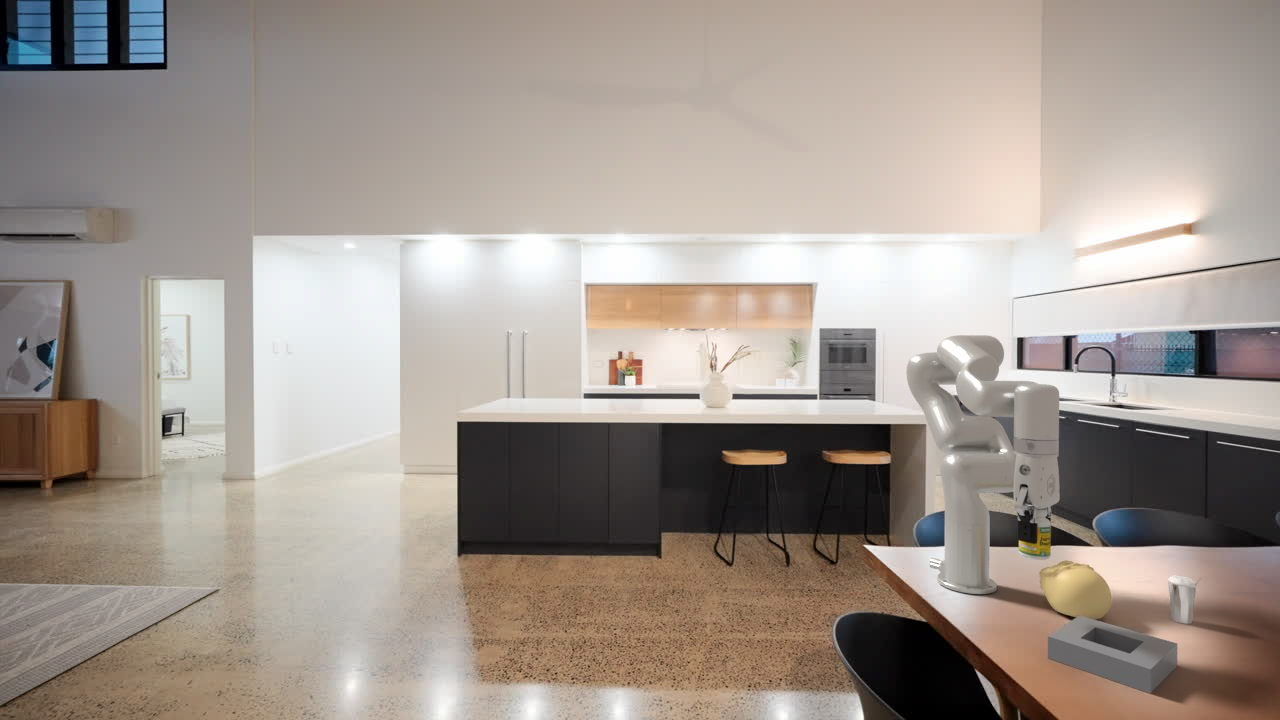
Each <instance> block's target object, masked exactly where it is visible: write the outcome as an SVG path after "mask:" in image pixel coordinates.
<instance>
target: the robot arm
mask: <svg viewBox="0 0 1280 720" xmlns="http://www.w3.org/2000/svg"><path fill="white" fill-rule="evenodd" d="M1004 357H1005V349H1004V347H1003V344H1002V343H1001V342H1000V340H999V339H998V338H996V337H995V336H992V335H986V334H984V335H983V334H982V335H978V334H977V335H974V334H970V335H966V334H965V335H964V334H963V335H961V334H960V335H951V336H949V337H946V338H943V340H941V341H940V343H939V344H938V346H937V349H936V352H923V353H919V354H916V355H914V356H913V357H911V358H910V359H908V362H907V364H906V365H907V366H906V381H907V385H908V388H909V390H910V392H911V394H912V396H913V398H914V400H916V403H917V404H918V405H919V407H920V409H921V410H922V411H923V414H924V416H925V419H926V422H927V425H928V427H929V430H930V432H931V435H932V438H933V439H934V442H935V444H936V446H937V448H938V450H940V452H942V453H944V454H948V455H945V457H943V459H942V461H941V462H940V466H939V469H940V471H939V472H940V477H941V483H942V488H943V497H944V559H943V560H941V559H939V558H935V557H931V558H930V559H929V568H930V569H934V570H938V571H939V574H937V576H936V578H937V583H939V584H940V585H941V586H942V587H945V589H946V588H947V589H949V590H951V591H956V592H959V593H965V594H970V595H988V594H992V593H995V592H996V591H997V588H998V587H997V584H998V583H997V582H996V581H994V580H993V579H991V578H990V553H991V552H990V546H991V545H990V542H991V540H990V538H991V537H990V530H991V529H990V525H991V523H990V521H991V519H990V518H991V517H990V511H989V509H988V506H987V505H986V503H984V501H983V500H982V499H981V497H980V495H979V494H985V493H986V494H987V493H988V494H997V493H998V494H1002V493H1003V494H1006V493H1007V494H1008V493H1013V502H1014V503H1015V504H1014V509H1015V510H1016V515H1017V521H1018V522H1017V523H1018V524H1017V529H1018V530H1017V539H1018V541H1019V540H1020V541H1023V542H1028V543H1032V544H1036V543H1037V523H1035V520H1036V514H1037V508H1038V509H1044V508H1046V509H1047V516H1046V517H1045V518H1047V519H1048V520H1049V521H1050V522H1051V521H1052V518H1051V517H1052V507H1053V506H1054V505H1056V504H1058V503H1059V502H1060V499H1061V498H1060V497H1061V496H1060V492H1061V491H1060V471H1059V462H1058V457H1059V454H1060V453H1059V449H1060V448H1059V447H1060V446H1059V445H1060V444H1059V442H1060V440H1059V438H1060V391H1059V389H1058V387H1057V386H1055V385H1052V384H1045V383H1044V384H1043V383H1038V382H1034V381H1030V380H996V379H997V377H998V376H999V371H1000V367H1001V365H1002V364H1003V362H1004ZM942 385H947V386H949V385H950V386H951V385H954V386H955V392H956V395H957V398H958V400H959V401H960V403H962V405H964V407H966V408H967V410H969V411H970V412H971V413H973V414H974V415H967V414H964V411H962V408H961V407H960V404H959V402H958V400H957V399H956V397H954V396H953V395H952V394H951V393H950V392H949V391H947V390H945V389H944V388H943V387H941V386H942ZM995 418H1013V445H1012V443H1011V441H1010V438H1009V437H1008V435H1007V433H1006V431H1005V430H1006V429H1004V427H1003V425H1002V424H1001V422H999V421H998V420H997V419H995ZM1027 504H1028V505H1027ZM1030 504H1031V505H1033V506H1029V505H1030ZM1026 509H1030V510H1031V515H1030V513H1029V511H1028V510H1026Z"/></svg>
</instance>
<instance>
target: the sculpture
mask: <svg viewBox="0 0 1280 720" xmlns="http://www.w3.org/2000/svg"><path fill="white" fill-rule="evenodd" d="M1038 574H1039V578H1040V579H1039V584H1040V585H1039V587H1040V588H1041V590H1042V591H1043V593H1044V595H1045V598H1046V599H1047V602H1048V603H1049V605H1050V606H1051V607H1052V609H1053V610H1054V611H1056V612H1057V613H1060V614H1063V615H1066V616H1070V617H1074V618H1076V617H1078V616H1084V617H1087V618H1091V619H1094V620H1099V619H1102V618H1103V617H1104V616H1106V615H1107V614H1108V612H1109V610H1110V609H1111V605H1112V599H1113V598H1112V592H1111V588H1110V586H1109V584H1108V582H1107V580H1105V578H1104V577H1103V576H1102V575H1101V574H1100V573H1098V572H1097V571H1096V570H1095V569H1094V567H1092V566H1090V565H1089V564H1084V563H1078V562H1073V561H1070V560H1063V561H1060V562H1059V563H1057V564H1054V565H1052V566H1047V567H1042V569H1041V570H1040V571H1039V573H1038Z"/></svg>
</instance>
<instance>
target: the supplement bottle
mask: <svg viewBox="0 0 1280 720" xmlns="http://www.w3.org/2000/svg"><path fill="white" fill-rule="evenodd" d="M1028 505H1029V506H1033V505H1032V504H1028ZM1026 510H1028V511H1029V513H1030V515H1031V510H1030V509H1026ZM1046 516H1047V509H1046V508H1044V509H1038V508H1037V514H1036V520H1035V523H1037V543H1036V544H1032V543H1028V542H1023V541H1020V540H1018V554H1019V555H1020V556H1022V557H1024V558H1026V559H1031V560H1037V561H1045V560H1049V559H1050V558H1051V550H1052V549H1051V546H1052V544H1051V541H1052V539H1051V537H1052V535H1051V534H1052V523H1051V522H1050V521H1049V520H1048V519H1047V518H1045V517H1046Z"/></svg>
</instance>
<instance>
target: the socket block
mask: <svg viewBox="0 0 1280 720" xmlns="http://www.w3.org/2000/svg"><path fill="white" fill-rule="evenodd" d="M1047 659H1050V660H1052V661H1055V662H1058V663H1060V664H1064V665H1066V666H1069V667H1073V668H1074V669H1078V670H1082V671H1083V672H1087V673H1090V674H1092V675H1095V676H1098V677H1101V678H1105V679H1106V680H1110V681H1112V682H1114V683H1115V682H1116V683H1118V684H1120V685H1124V686H1127V687H1131V688H1133V689H1136V690H1139V691H1141V692H1144V693H1147V694H1149V695H1150V694H1152V693H1153V691H1155V690H1156V688H1157V687H1158V686H1159V685H1160V684H1161V683H1163V682H1164V680H1165V679H1166V678H1167V677H1168V676H1170V674H1171V673H1172V672H1173V671H1174V670H1175V669H1176V668H1177V667H1178V642H1174V641H1170V640H1166V639H1163V638H1159V637H1156V636H1153V635H1149V634H1146V633H1142V632H1139V631H1136V630H1135V631H1134V630H1132V629H1129V628H1124V627H1121V626H1118V625H1114V624H1111V623H1107V622H1104V621H1100V620H1098V619H1096V620H1094V619H1091V618H1087V617H1084V616H1078V617H1074V618H1073V619H1072V620H1071V621H1069V622H1067V623H1066V624H1064V625H1063V626H1061V627H1060V628H1058V629H1057V630H1055V631H1054V632H1052V633H1051V634H1049V635H1048V636H1047Z"/></svg>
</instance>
